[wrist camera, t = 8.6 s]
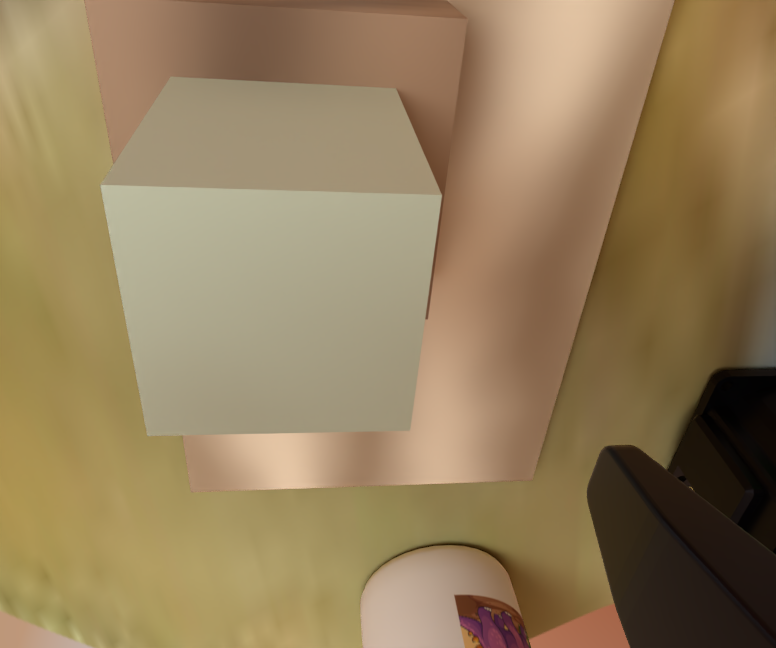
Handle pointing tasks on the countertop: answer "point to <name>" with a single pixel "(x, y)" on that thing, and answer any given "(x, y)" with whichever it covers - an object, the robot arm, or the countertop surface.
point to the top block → (273, 257)
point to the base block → (284, 56)
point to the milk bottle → (441, 602)
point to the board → (493, 253)
